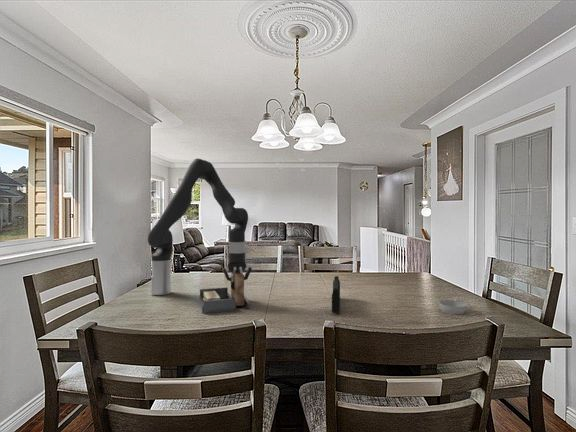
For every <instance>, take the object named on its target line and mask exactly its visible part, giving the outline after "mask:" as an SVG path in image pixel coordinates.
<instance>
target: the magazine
mask: <svg viewBox="0 0 576 432" xmlns="http://www.w3.org/2000/svg"><path fill="white" fill-rule="evenodd" d="M340 312H341V281H340V279H339V276H338V275H337V276H334V279H333V281H332V293H331V313H333V314H339V313H340Z"/></svg>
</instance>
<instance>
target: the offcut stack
mask: <svg viewBox="0 0 576 432" xmlns="http://www.w3.org/2000/svg"><path fill="white" fill-rule="evenodd" d="M207 300H220V297H219V295H218V294H217V293H216V292H215V291H208V292H204V298H203V302H204V301H207Z"/></svg>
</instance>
